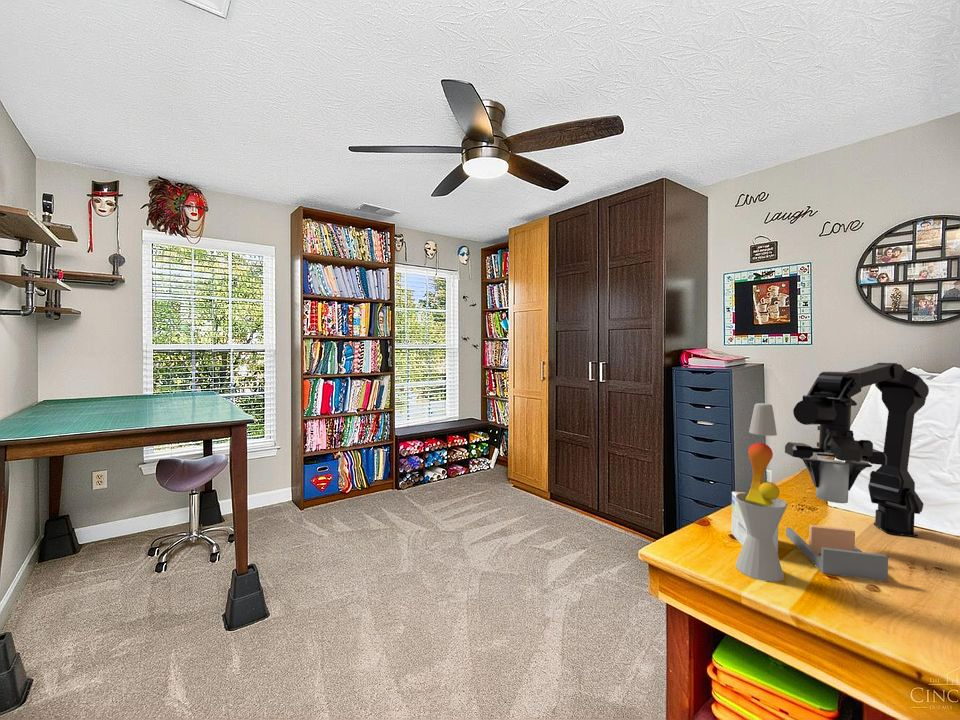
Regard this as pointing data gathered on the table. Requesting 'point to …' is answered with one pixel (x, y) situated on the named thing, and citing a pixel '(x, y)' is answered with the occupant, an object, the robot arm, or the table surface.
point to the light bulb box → (743, 524)
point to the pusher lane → (844, 560)
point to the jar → (833, 481)
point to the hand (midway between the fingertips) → (831, 488)
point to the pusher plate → (831, 538)
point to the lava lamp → (761, 506)
